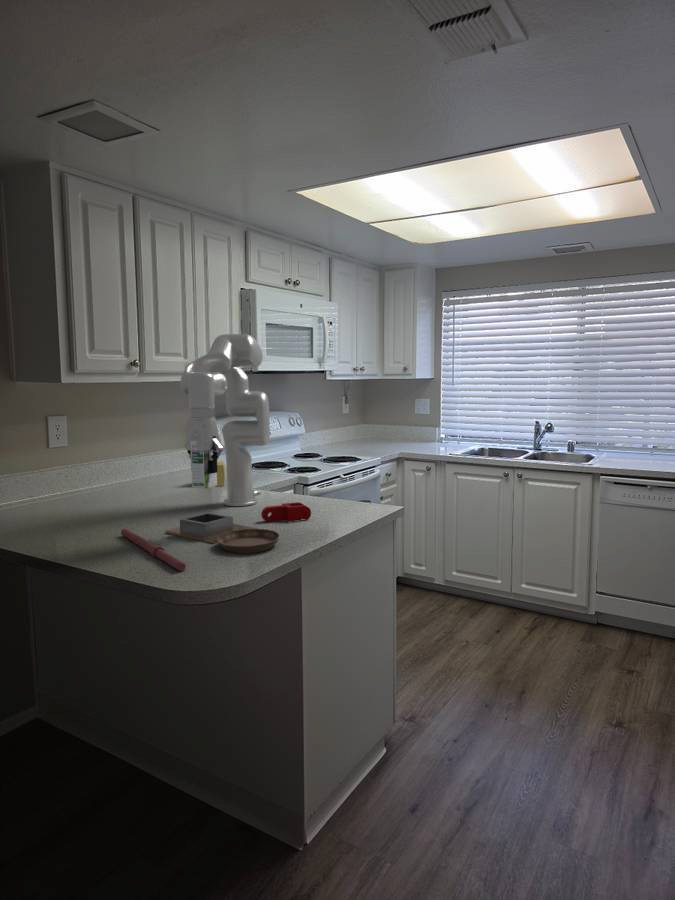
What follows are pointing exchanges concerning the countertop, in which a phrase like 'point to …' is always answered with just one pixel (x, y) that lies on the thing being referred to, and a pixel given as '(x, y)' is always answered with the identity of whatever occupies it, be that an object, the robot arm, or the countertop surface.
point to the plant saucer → (248, 540)
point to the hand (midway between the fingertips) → (204, 471)
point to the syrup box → (201, 469)
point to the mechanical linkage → (286, 512)
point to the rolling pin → (154, 550)
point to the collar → (206, 527)
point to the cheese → (220, 473)
